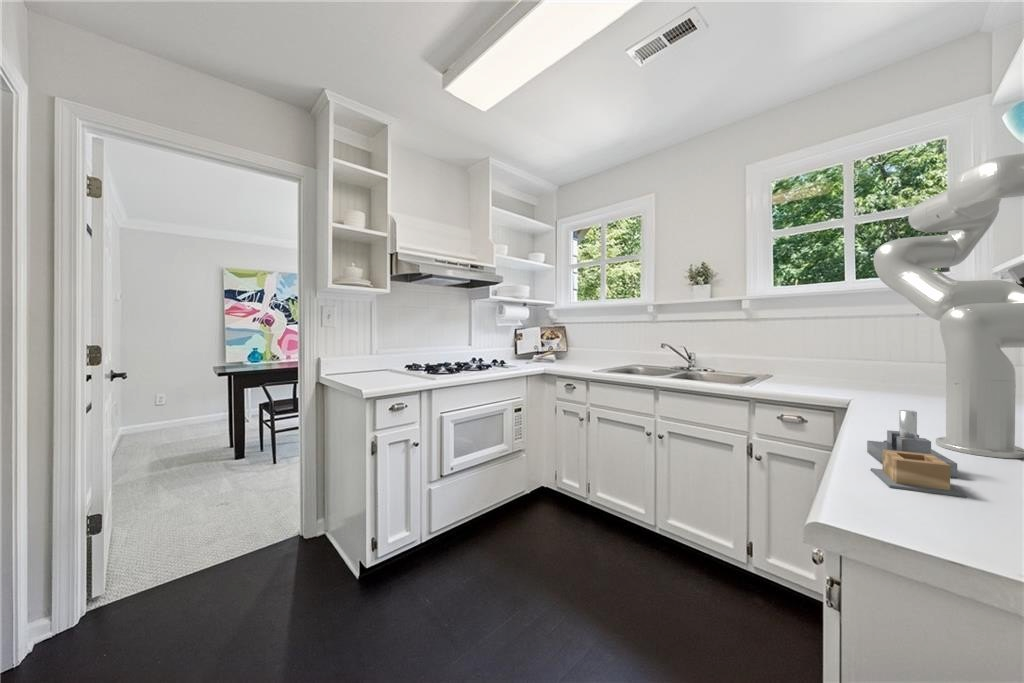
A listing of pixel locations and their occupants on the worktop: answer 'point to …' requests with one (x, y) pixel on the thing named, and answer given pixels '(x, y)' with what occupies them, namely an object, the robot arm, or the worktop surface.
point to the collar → (916, 469)
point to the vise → (907, 441)
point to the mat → (892, 484)
